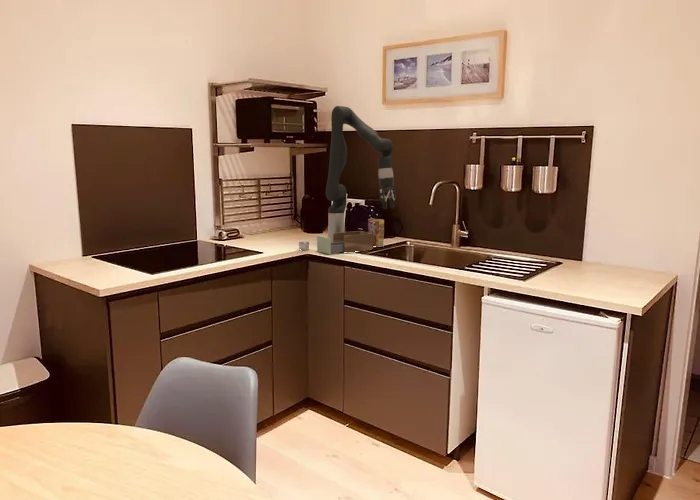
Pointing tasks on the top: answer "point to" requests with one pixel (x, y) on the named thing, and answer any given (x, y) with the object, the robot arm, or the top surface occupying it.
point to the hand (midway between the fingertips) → (388, 208)
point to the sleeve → (354, 240)
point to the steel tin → (304, 246)
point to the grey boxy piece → (329, 245)
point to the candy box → (376, 231)
